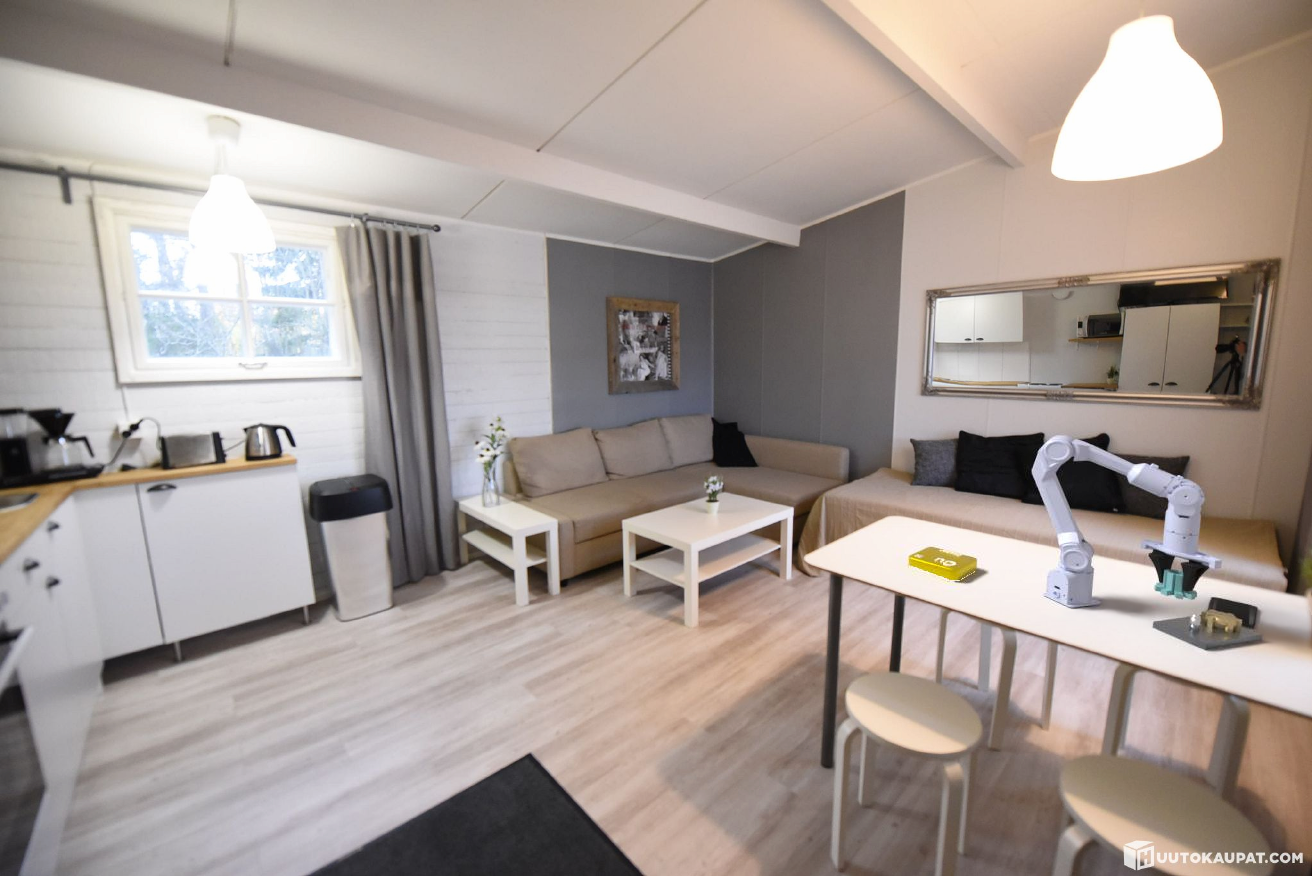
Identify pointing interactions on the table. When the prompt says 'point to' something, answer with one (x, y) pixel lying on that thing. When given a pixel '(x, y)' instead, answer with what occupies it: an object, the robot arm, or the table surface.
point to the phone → (1235, 610)
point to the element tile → (943, 563)
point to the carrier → (1209, 630)
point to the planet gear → (1174, 585)
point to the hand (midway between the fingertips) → (1175, 586)
